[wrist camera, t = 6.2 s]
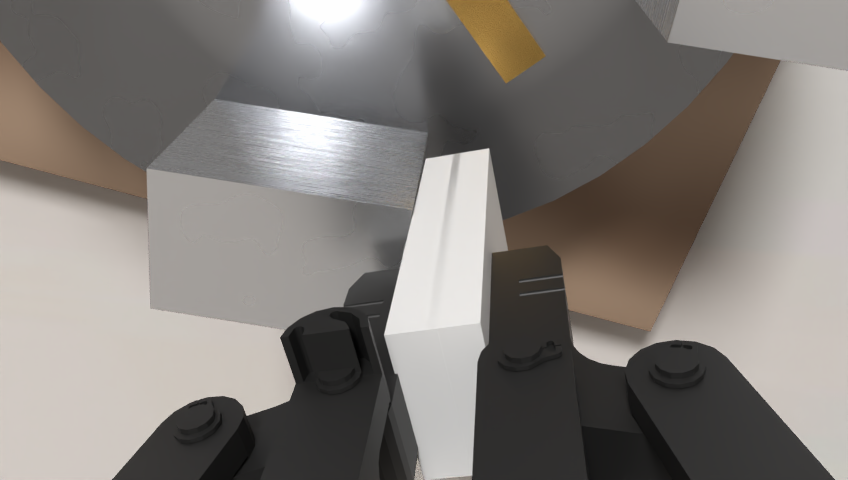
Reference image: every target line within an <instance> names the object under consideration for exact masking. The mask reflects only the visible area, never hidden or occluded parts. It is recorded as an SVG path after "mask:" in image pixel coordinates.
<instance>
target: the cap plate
mask: <svg viewBox="0 0 848 480" xmlns="http://www.w3.org/2000/svg"><path fill="white" fill-rule="evenodd" d="M780 61H781V60H776V59H770V58H764V57H757V56H751V55H744V54H738V53H733V55H732V56H731V58H730V59H729V60H728V62H727V63H726V64H725V65H724V66H723V67H722V69H721V70H720V71H719V72H718V73H717V74H716V75H715V76H714V78H713V79H712V80H711V81H710V82H709V83H708V84H707V85H706V87H705V88H704V89H703V90H702V91H701V92H700V93H699V94H698V96H697V97H696V98H695V99H694V100H693V101H692V102H691V103H690V105H689V106H688V107H687V108H686V109H684V110H683V111H682V112H681V113H680V114H679V115H678V116H677V117H675V118H674V119H673V120H672V121H671V122H670V123H669V124H668V125H666V126H665V127H664V128H663V129H662V130H661V131H660V132H659V133H657V134H656V135H655V136H654V137H653V138H652V139H651V140H650V141H648V142H647V143H646V144H645V145H644V146H642V147H641V148H639V149H638V150H636V151H635V152H634V153H632V154H631V155H629V156H628V157H626V158H625V159H624V160H622V161H621V162H619V163H618V164H616V165H615V166H614V167H612V168H611V169H609V170H608V171H606V172H605V173H604V174H602V175H601V176H599V177H597V178H595V179H593V180H591V181H590V182H588V183H586V184H584V185H582V186H580V187H578V188H576V189H575V190H573V191H571V192H569V193H567V194H565V195H563V196H562V197H560V198H558V199H556V200H554V201H551V202H549V203H546V204H544V205H541V206H539V207H536V208H534V209H531V210H528V211H526V212H523V213H521V214H518V215H516V216H513V217H511V218H508V219H505V220H503V226H504V231H505V237H506V242H507V247H508V251H509V250H516V249H523V248H530V247H537V246H544V245H548V246H549V247H550V248H551V249H552V250H553V251H554V252H555V253H556V254H557V255H558V256H559V257H560V258H561V264H562V270H563V277H564V283H565V290H566V296H567V303H568V309H569V310H571V311H574V312H578V313H582V314H586V315H590V316H593V317H597V318H601V319H605V320H609V321H612V322H616V323H620V324H624V325H627V326H631V327H635V328H639V329H643V330H646V331H651V329H652V327H653V325H654V323H655V321H656V319H657V317H658V315H659V312H660V310H661V308H662V306H663V304H664V302H665V300H666V298H667V296H668V294H669V292H670V290H671V288H672V285H673V283H674V281H675V279H676V277H677V275H678V273H679V271H680V269H681V267H682V265H683V263H684V260H685V258H686V256H687V254H688V252H689V250H690V248H691V246H692V244H693V242H694V240H695V238H696V235H697V233H698V231H699V229H700V227H701V225H702V223H703V221H704V219H705V217H706V215H707V213H708V210H709V208H710V206H711V204H712V202H713V200H714V198H715V196H716V194H717V192H718V190H719V188H720V186H721V183H722V181H723V179H724V177H725V175H726V173H727V171H728V169H729V167H730V165H731V163H732V161H733V158H734V156H735V154H736V152H737V150H738V148H739V146H740V144H741V142H742V140H743V138H744V136H745V133H746V131H747V129H748V127H749V125H750V123H751V121H752V119H753V117H754V115H755V113H756V111H757V108H758V106H759V104H760V102H761V100H762V98H763V96H764V94H765V92H766V90H767V88H768V86H769V83H770V81H771V79H772V77H773V75H774V73H775V71H776V69H777V67H778V65H779V63H780ZM0 160H2V161H6V162H10V163H13V164H17V165H21V166H25V167H29V168H32V169H36V170H40V171H44V172H47V173H51V174H55V175H59V176H63V177H66V178H70V179H74V180H78V181H82V182H85V183H89V184H93V185H97V186H101V187H104V188H108V189H112V190H116V191H119V192H123V193H127V194H131V195H135V196H138V197H142V198H146V199H147V172H145V171H144V170H142V169H141V168H139V167H137V166H136V165H134V164H132V163H131V162H129V161H127V160H126V159H124V158H123V157H122V156H120V155H119V154H118V153H116V152H115V151H114V150H112V149H111V148H110V147H108V146H107V145H106V144H104V143H103V142H102V141H100V140H99V139H98V138H97V137H95V136H94V135H93V134H91V133H90V132H89V131H87V130H86V129H85V128H83V127H82V126H81V125H80V124H79V123H78V122H77V121H76V120H74V119H73V118H72V117H71V116H70V115H69V114H68V113H67V112H66V111H65V110H64V109H63V108H62V107H61V106H60V105H59V104H57V103H56V102H55V101H54V100H53V99H52V98H51V97H50V96H49V95H48V94H47V93H46V92H45V91H44V90H43V89H41V88H40V86H39V85H38V84H37V83H36V82H35V81H34V80H33V78H32V77H31V76H30V75H29V74H28V73H27V72H26V70H25V69H24V68H23V67H22V66H21V65H20V63H19V62H18V61H17V60H16V59H15V58H14V57H13V55H12V54H11V53H10V52H9V51H8V50H7V48H6V47H5V46H4V45H3V44H2V43H1V41H0Z"/></svg>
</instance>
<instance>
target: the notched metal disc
mask: <svg viewBox="0 0 848 480" xmlns="http://www.w3.org/2000/svg"><path fill="white" fill-rule="evenodd" d="M0 41H1V43H2V44H3V45H4V46H5V47H6V48H7V50H8V51H9V52H10V53H11V54H12V55H13V57H14V58H15V59H16V60H17V61H18V62H19V63H20V65H21V66H22V67H23V68H24V69H25V70H26V72H27V73H28V74H29V75H30V76H31V77H32V78H33V80H34V81H35V82H36V83H37V84H38V85H39V86H40V88H41V89H43V90H44V91H45V92H46V93H47V94H48V95H49V96H50V97H51V98H52V99H53V100H54V101H55V102H56V103H57V104H59V105H60V106H61V107H62V108H63V109H64V110H65V111H66V112H67V113H68V114H69V115H70V116H71V117H72V118H73V119H74V120H76V121H77V122H78V123H79V124H80V125H81V126H82V127H83V128H85V129H86V130H87V131H89V132H90V133H91V134H93V135H94V136H95V137H97V138H98V139H99V140H100V141H102V142H103V143H104V144H106V145H107V146H108V147H110V148H111V149H112V150H114V151H115V152H116V153H118V154H119V155H120V156H122V157H123V158H124V159H126V160H127V161H129V162H131V163H132V164H134V165H136V166H137V167H139V168H141V169H142V170H144V171H145V172H147V203H148V240H149V276H150V308H151V309H157V310H164V311H170V312H176V313H183V314H189V315H195V316H202V317H208V318H214V319H221V320H227V321H233V322H240V323H246V324H252V325H259V326H265V327H271V328H278V329H284V330H286V329H287V328H288V327H289V326H290V325H292V324H293V323H295V322H296V321H297V320H299V319H300V318H302V317H304V316H306V315H309V314H311V313H313V312H315V311H319V310H323V309H327V308H332V307H344V306H343V305H344V302H345V299H346V296H347V293H348V290H349V288H350V287H351V286H352V285H353V284H354V283H355V282H356V281H357V280H358V279H359V278H360V277H361V276H362V275H363V274H364V273H367V272H375V271H382V270H389V269H396V268H400V266H401V262H402V257H403V253H404V249H405V245H406V241H407V236H408V232H409V228H410V224H411V219H412V215H413V211H414V207H415V203H416V198H417V194H418V190H419V186H420V182H421V177H422V173H423V169H424V165H425V160H426V159H427V158H434V157H440V156H446V155H452V154H458V153H464V152H470V151H476V150H482V149H488V148H489V150H490V155H491V161H492V166H493V172H494V177H495V182H496V188H497V193H498V199H499V204H500V210H501V215H502V220H505V219H508V218H511V217H513V216H516V215H518V214H521V213H523V212H526V211H528V210H531V209H534V208H536V207H539V206H541V205H544V204H546V203H549V202H551V201H554V200H556V199H558V198H560V197H562V196H563V195H565V194H567V193H569V192H571V191H573V190H575V189H576V188H578V187H580V186H582V185H584V184H586V183H588V182H590V181H591V180H593V179H595V178H597V177H599V176H601V175H602V174H604V173H605V172H606V171H608V170H609V169H611V168H612V167H614V166H615V165H616V164H618V163H619V162H621V161H622V160H624V159H625V158H626V157H628V156H629V155H631V154H632V153H634V152H635V151H636V150H638V149H639V148H641V147H642V146H644V145H645V144H646V143H647V142H648V141H650V140H651V139H652V138H653V137H654V136H655V135H656V134H657V133H659V132H660V131H661V130H662V129H663V128H664V127H665V126H666V125H668V124H669V123H670V122H671V121H672V120H673V119H674V118H675V117H677V116H678V115H679V114H680V113H681V112H682V111H683V110H684V109H686V108H687V107H688V106H689V105H690V103H691V102H692V101H693V100H694V99H695V98H696V97H697V96H698V94H699V93H700V92H701V91H702V90H703V89H704V88H705V87H706V85H707V84H708V83H709V82H710V81H711V80H712V79H713V78H714V76H715V75H716V74H717V73H718V72H719V71H720V70H721V69H722V67H723V66H724V65H725V64H726V63H727V62H728V60H729V59H730V58H731V56H732V55H733V53H738V54H744V55H751V56H757V57H764V58H770V59H776V60H783V61H789V62H795V63H802V64H808V65H814V66H821V67H827V68H834V69H840V70H846V71H848V0H0Z"/></svg>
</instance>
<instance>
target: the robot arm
mask: <svg viewBox="0 0 848 480" xmlns="http://www.w3.org/2000/svg"><path fill="white" fill-rule="evenodd" d="M343 306H344V307H332V308H327V309H323V310H319V311H315V312H313V313H311V314H309V315H306V316H304V317H302V318H300V319H299V320H297V321H296V322H295V323H293V324H292V325H290V326H289V327H288V328H287V329H286V331H285V332H284V333H283V335H282V336H281V337H280V339H281V341H282V344H283V347H284V350H285V353H286V356H287V359H288V362H289V364H290V367H291V370H292V373H293V376H294V379H295V382H296V385H295V388H294V391H293V393H292V396H291V399H290V401H288V402H286V403H283V404H281V405H278V406H276V407H273V408H270V409H267V410H264V411H261V412H258V413H255V414H252V415H249V416H246V414H245V411H244V408H243V406H242V405H241V404H240V403H239V402H238V401H237V400H236V399H233V398H229V397H224V396H219V397H207V398H204V399H200V400H198V401H194V402H191V403H189V404H187V405H186V406H184V407H182V408H181V409H179V410H177V411H175V412H174V413H173V414H172V415H170V416H169V417H168V418H167V419H166V420H165V421H164V422H162V423H161V425H160V426H159V427H158V428H157V429H156V430H155V431H154V433H153V434H152V435H151V436H150V437H149V438H148V439H147V441H146V442H145V443H144V444H143V445H142V446H141V447H140V449H139V450H138V451H137V452H136V453H135V454H134V455H133V457H132V458H131V459H130V460H129V461H128V462H127V463H126V464H125V466H124V467H123V468H122V469H121V470H120V471H119V472H118V474H117V475H116V476H115V477H114V478H113V479H112V480H414V476H415V469H416V462H417V456H418V460H419V463H420V467H421V470H422V474H423V478H424V480H433V479H443V478H454V477H465V476H472V480H835V479H834V478H833V477H832V476H831V475H830V473H829V472H828V471H827V470H826V469H825V468H824V467H823V466H822V464H821V463H820V462H819V461H818V460H817V459H816V458H815V457H814V455H813V454H812V453H811V452H810V451H809V450H808V449H807V447H806V446H805V445H804V444H803V443H802V442H801V441H800V440H799V438H798V437H797V436H796V435H795V434H794V433H793V432H792V431H791V429H790V428H789V427H788V426H787V425H786V424H785V423H784V422H783V420H782V419H781V418H780V417H779V416H778V415H777V414H776V412H775V411H774V410H773V409H772V408H771V407H770V406H769V405H768V403H767V402H766V401H765V400H764V399H763V398H762V397H761V396H760V394H759V393H758V392H757V391H756V390H755V389H754V388H753V387H752V385H751V384H750V383H749V382H748V381H747V380H746V379H745V377H744V376H743V375H742V374H741V373H740V372H739V371H738V370H737V368H736V367H735V366H734V365H733V364H732V363H731V362H730V361H729V359H728V358H727V357H726V356H724V355H723V354H722V353H720V352H719V351H717V350H716V349H715V348H713V347H710V346H707V345H704V344H701V343H698V342H692V341H680V340H674V341H667V342H660V343H655V344H653V345H651V346H648V347H646V348H643V349H641V350H639V351H638V352H637V353H636V354H635V355H634V356H633V357H632V358H630V359H629V361H628V364H627V367H620V366H612V365H607V364H601V363H598V362H596V361H593V360H590V359H588V358H586V357H585V356H583V355H582V354H580V353H579V352H578V351H577V350H576V348H575V347H574V345H573V337H572V329H571V323H570V316H569V309H568V303H567V296H566V290H565V283H564V277H563V270H562V264H561V258H560V257H559V256H558V255H557V254H556V253H555V252H554V251H553V250H552V249H551V248H550V247H549V246H548V245H544V246H537V247H530V248H523V249H516V250H509V251H508V247H507V242H506V237H505V231H504V226H503V220H502V215H501V210H500V204H499V199H498V193H497V188H496V182H495V177H494V172H493V166H492V161H491V155H490V150H489V148H488V149H482V150H476V151H470V152H464V153H458V154H452V155H446V156H440V157H434V158H427V159H426V160H425V165H424V169H423V173H422V177H421V182H420V186H419V190H418V194H417V198H416V203H415V207H414V211H413V215H412V219H411V224H410V228H409V232H408V236H407V241H406V245H405V249H404V253H403V257H402V262H401V266H400V268H396V269H389V270H382V271H375V272H367V273H364V274H363V275H362V276H361V277H360V278H359V279H358V280H357V281H356V282H355V283H354V284H353V285H352V286H351V287H350V288H349V290H348V293H347V296H346V299H345V302H344V305H343Z"/></svg>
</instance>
